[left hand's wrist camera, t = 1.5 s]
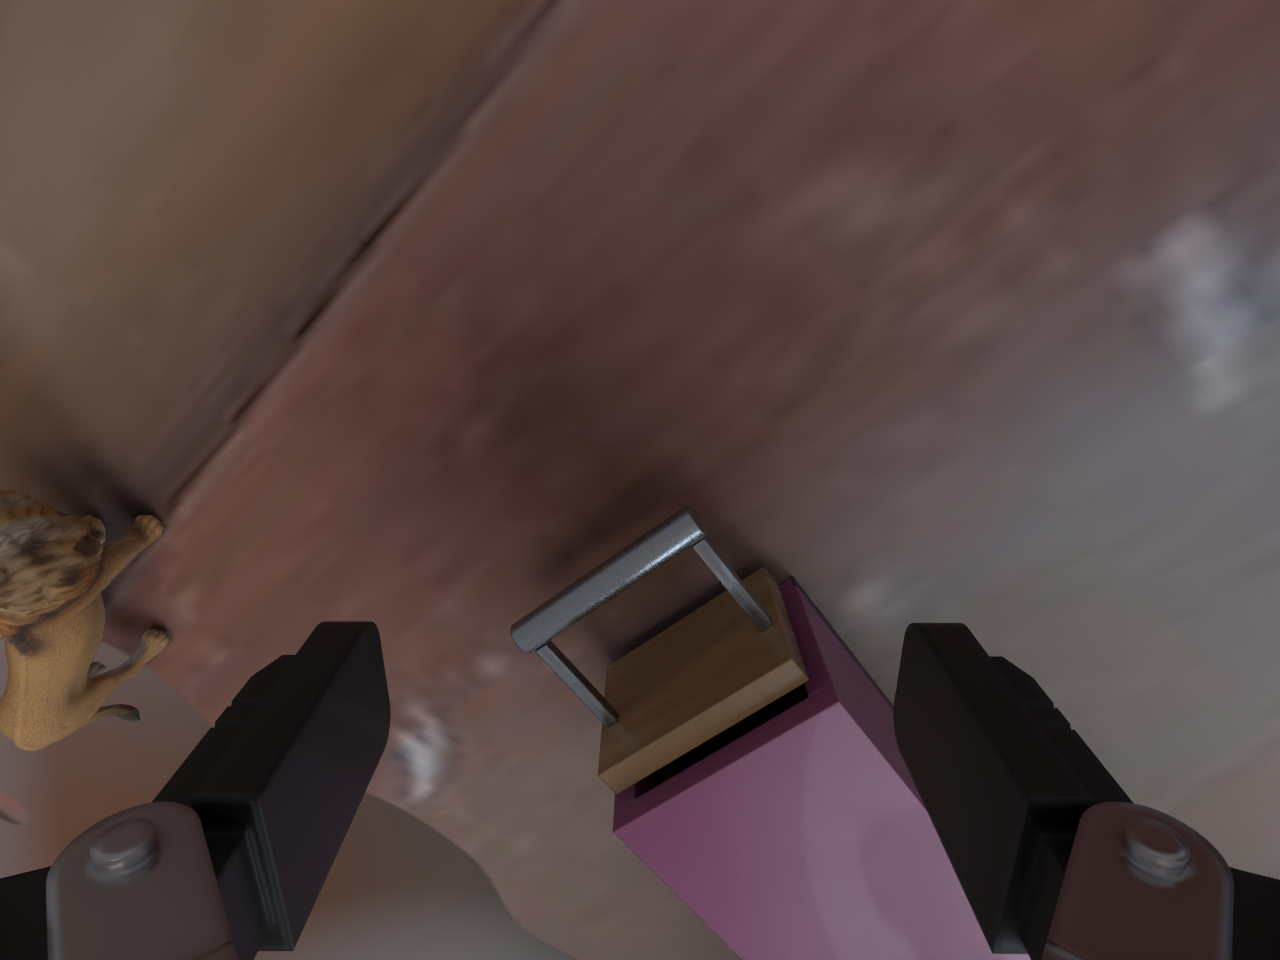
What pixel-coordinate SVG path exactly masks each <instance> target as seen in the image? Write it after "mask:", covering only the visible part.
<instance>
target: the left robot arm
mask: <svg viewBox="0 0 1280 960" xmlns="http://www.w3.org/2000/svg"><path fill="white" fill-rule="evenodd" d="M893 721H894V731H895V737H896V741H897V745H898V748H899V751H900V753H901V756H902V758H903V760H904V762H905V764H906V766H907V769H908V771H909V773H910V775H911V777H912V779H913V782H914V784H915V786H916V788H917V790H918V793H919V795H920V797H921V799H922V801H923V803H924V806H925V808H926V810H927V812H928V814H929V817H930V819H931V821H932V823H933V825H934V827H935V830H936V832H937V834H938V836H939V838H940V840H941V843H942V845H943V847H944V849H945V851H946V854H947V856H948V858H949V860H950V862H951V864H952V867H953V869H954V871H955V873H956V875H957V877H958V880H959V882H960V884H961V886H962V888H963V891H964V893H965V895H966V897H967V899H968V901H969V904H970V906H971V908H972V910H973V912H974V915H975V917H976V919H977V921H978V923H979V925H980V928H981V930H982V932H983V934H984V936H985V938H986V941H987V943H988V945H989V947H990V949H991V952H992V954H1028V955H1029V957H1030V959H1031V960H1280V880H1278V879H1274V878H1270V877H1266V876H1262V875H1258V874H1253V873H1249V872H1245V871H1241V870H1238V869H1234V868H1231V867H1229V866H1228V864H1227V863H1226V861H1225V859H1224V858H1223V857H1222V855H1221V854H1220V853H1219V852H1218V851H1217V849H1216V848H1215V847H1214V846H1213V845H1212V844H1211V843H1210V842H1209V841H1207V840H1206V839H1205V838H1204V837H1203V836H1201V835H1200V834H1199V833H1198V832H1196V831H1195V830H1193V829H1192V828H1190V827H1189V826H1187V825H1186V824H1184V823H1182V822H1181V821H1179V820H1177V819H1175V818H1173V817H1171V816H1169V815H1167V814H1165V813H1162V812H1160V811H1157V810H1155V809H1152V808H1149V807H1146V806H1142V805H1138V804H1134V803H1133V802H1132V801H1131V800H1130V798H1129V797H1128V796H1127V795H1126V793H1125V792H1124V791H1123V790H1122V788H1121V787H1120V786H1119V785H1118V783H1117V782H1116V781H1115V780H1114V778H1113V777H1112V776H1111V775H1110V773H1109V772H1108V771H1107V770H1106V768H1105V767H1104V766H1103V765H1102V763H1101V762H1100V761H1099V760H1098V758H1097V757H1096V756H1095V755H1094V753H1093V752H1092V751H1091V750H1090V748H1089V747H1088V746H1087V745H1086V743H1085V742H1084V741H1083V740H1082V738H1081V737H1080V736H1079V735H1078V733H1077V732H1076V731H1075V730H1071V728H1070V723H1069V722H1068V721H1067V720H1066V718H1065V717H1064V716H1063V715H1062V713H1061V712H1060V711H1059V710H1058V708H1054V706H1053V702H1052V701H1051V700H1050V698H1049V697H1048V696H1047V695H1046V693H1045V692H1044V691H1043V690H1042V688H1041V687H1040V686H1039V685H1038V683H1037V682H1036V681H1035V680H1034V678H1032V677H1031V676H1030V675H1028V674H1027V673H1025V672H1024V671H1022V670H1021V669H1019V668H1018V667H1016V666H1015V665H1014V664H1012V663H1011V662H1009V661H1008V660H1006V659H1005V658H1003V657H989V656H988V654H987V653H986V652H985V650H984V649H983V648H982V646H981V645H980V643H979V642H978V641H977V639H976V638H975V637H974V635H973V634H972V633H971V631H970V630H969V629H968V627H967V626H966V625H964V624H962V623H911V624H910V625H909V626H908V627H907V629H906V632H905V636H904V642H903V649H902V655H901V662H900V669H899V675H898V682H897V689H896V695H895V702H894V711H893ZM389 728H390V702H389V695H388V688H387V681H386V675H385V668H384V661H383V654H382V648H381V641H380V635H379V631H378V628H377V626H376V624H375V623H374V622H321V623H320V624H318V625H317V627H316V628H315V629H314V631H313V632H312V633H311V635H310V636H309V637H308V639H307V640H306V641H305V643H304V644H303V646H302V647H301V648H300V650H299V651H298V652H297V654H296V655H282V656H280V657H279V658H278V659H276V660H275V661H273V662H272V663H270V664H269V665H267V666H266V667H265V668H263V669H262V670H260V671H259V672H257V673H256V674H254V675H253V676H251V678H250V679H249V680H248V682H247V683H246V684H245V685H244V687H243V688H242V689H241V690H240V692H239V693H238V694H237V695H236V697H235V698H234V699H233V700H232V705H231V707H227V708H226V709H225V711H224V712H223V713H222V714H221V716H220V717H219V718H218V719H217V721H216V722H215V727H214V728H210V729H209V731H208V732H207V733H206V735H205V736H204V737H203V738H202V740H201V741H200V742H199V743H198V745H197V746H196V747H195V748H194V750H193V751H192V752H191V754H190V755H189V756H188V757H187V759H186V760H185V761H184V762H183V764H182V765H181V766H180V767H179V769H178V770H177V771H176V772H175V774H174V775H173V776H172V778H171V779H170V780H169V781H168V783H167V784H166V785H165V786H164V788H163V789H162V790H161V791H160V793H159V794H158V795H157V796H156V798H155V799H154V800H153V801H152V803H147V804H143V805H138V806H135V807H131V808H128V809H126V810H123V811H120V812H118V813H116V814H113V815H111V816H109V817H107V818H105V819H103V820H101V821H99V822H98V823H96V824H94V825H93V826H91V827H90V828H88V829H87V830H85V831H84V832H82V833H81V834H80V835H79V836H77V837H76V838H75V839H74V840H73V841H71V842H70V844H68V845H67V846H66V847H65V848H64V849H63V851H62V852H61V853H60V854H59V856H58V857H57V858H56V860H55V861H54V863H53V864H52V866H50V867H46V868H42V869H38V870H34V871H30V872H25V873H21V874H17V875H13V876H9V877H5V878H1V879H0V960H254V958H255V956H256V954H257V952H258V951H293V950H294V948H295V945H296V943H297V941H298V939H299V937H300V935H301V932H302V930H303V928H304V926H305V923H306V921H307V919H308V917H309V915H310V912H311V910H312V908H313V906H314V904H315V901H316V899H317V897H318V895H319V893H320V890H321V888H322V886H323V884H324V882H325V879H326V877H327V875H328V873H329V871H330V868H331V866H332V864H333V862H334V860H335V857H336V855H337V853H338V851H339V848H340V846H341V844H342V842H343V840H344V837H345V835H346V833H347V831H348V829H349V826H350V824H351V822H352V820H353V818H354V815H355V813H356V811H357V809H358V806H359V804H360V802H361V800H362V798H363V796H364V793H365V791H366V789H367V787H368V785H369V782H370V780H371V778H372V776H373V774H374V771H375V769H376V767H377V765H378V763H379V760H380V758H381V756H382V754H383V751H384V749H385V746H386V743H387V739H388V735H389Z"/></svg>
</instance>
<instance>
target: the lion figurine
mask: <svg viewBox="0 0 1280 960" xmlns="http://www.w3.org/2000/svg"><path fill="white" fill-rule="evenodd" d="M162 532H163V525H162V524H161V522H160V521H159V520H158V519H157V518H155V517H154V516H152V515H139V516H137V517H136V519H135V522H134V525H133V526H132V527H130V528H129V529H128V531H127V532H126V534H125V535H124V537H123V538H122V539H121V540H119V541H116V542H114V543H112V544H110V545H108V546H106V547H105V548H103V546H102V544H103V542H104V541H105V536H106V534H105V527H104V524H103V523H102V521H101V520H100V519H98V518H96V517H93V516H91V515H89V516H85V517H83V518H82V517H80V516H79V515H69V514H63V513H61V512H59V511H55V510H54V509H53V508H52V507H50V506H49V505H47V504H46V503H43V502H40V501H38V500H35V499H31V498H30V497H29V496H28V494H26V493H19V492H15V491H13V490H0V639H1V640H3V641H5V652H6V657H7V662H8V682H7V686H6V689H5V692H4V694H3V696H2V698H1V700H0V731H1V732H2V734H4V735H5V736H6V737H7V738H9V739H11V740H12V741H13V742H14V744H15V745H16V746H17V747H18V748H20V749H23V750H30V751H34V750H39V749H42V748H44V747H46V746H48V745H51V744H53V743H54V742H56V741H58V740H61V739H63V738H65V737H66V736H68V735H69V734H71V733H72V732H74V731H75V730H77V729H78V728H80V727H82V726H84V725H85V724H87V723H89V722H91V721H93V720H96V719H98V718H102V717H108V716H117V717H119V718H122V719H125V720H129V721H133V722H139V721H140V716H139V710H138V709H137V708H136V707H133V706H130V705H123V704H117V705H110V706H105V707H101V706H102V705H103V703H104V702H105V701H106V700H107V699H108V697H109V696H110V694H112V693H113V692H114V691H115V690H116V689H117V688H118V687H119V686H120V684H122V683H123V682H124V681H126V680H128V679H130V678H132V677H134V676H135V675H136V674H137V673H138V672H139V671H140V670H141V669H142V667H143V666H144V665H145V664H146V663H147V662H148V661H149V660H151V659H152V658H153V657H154V656H156V655H157V654H158V653H160V652H161V651H162V650H163V649H164V648H165V647H166V646H167V645H168V642H169V638H168V636H167V634H166V633H165V632H164V631H161V630H156V629H149V630H147V631H146V632H145V633H144V634H143V635H142V637H141V641H140V645H139V647H138V649H137V651H136V652H135V653H134V654H133V656H132V657H131V658H130V659H129V660H127V661H126V662H125V663H123V664H122V665H121V666H119V667H118V668H116V669H114V670H110V671H107V668H106V667H105V666H104V665H103V664H101V663H99V662H92V660H93V658H94V656H95V654H96V651H97V649H98V647H99V645H100V642H101V640H102V637H103V631H104V625H105V609H104V604H103V599H102V595H101V591H102V590H103V589H105V588H106V587H107V586H108V584H109V583H110V582H111V581H112V580H113V579H114V578H115V576H116V575H117V574H118V573H119V572H120V571H121V570H122V569H123V568H124V567H125V566H126V565H127V564H128V563H129V562H130V561H131V560H132V559H133V558H134V557H135V556H137V555H138V554H139V553H140V552H141V551H143V550H144V549H145V548H146V547H148V546H149V545H150V544H151V543H152V542H154V541H155V540H156V539H157V538H158V537H159V536H160V535H161V534H162ZM91 662H92V663H91Z"/></svg>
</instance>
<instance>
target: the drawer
mask: <svg viewBox="0 0 1280 960" xmlns="http://www.w3.org/2000/svg"><path fill="white" fill-rule="evenodd" d="M706 535H707V530H706V527H705V525H704V523H703V522H702V520H701V518H700V517H699V516H698V514H697V513H696V512H695V511H694V510H693V509H692V508H691V507H690V506H685V507H684V508H682V509H681V510H679V511H678V512H676V513H675V514H673V515H672V516H671V517H669V518H668V519H666V520H665V521H663V522H662V523H660V524H659V525H657V526H656V527H654V528H653V529H652V530H650V531H649V532H647V533H646V534H644V535H643V536H641V537H640V538H638V539H637V540H635V541H634V542H633V543H631V544H630V545H628V546H627V547H625V548H624V549H622V550H621V551H619V552H618V553H616V554H615V555H614V556H612V557H611V558H609V559H608V560H606V561H605V562H603V563H602V564H600V565H599V566H597V567H596V568H595V569H593V570H592V571H590V572H589V573H587V574H586V575H584V576H583V577H581V578H580V579H578V580H577V581H576V582H574V583H573V584H571V585H570V586H568V587H567V588H565V589H564V590H562V591H561V592H559V593H558V594H557V595H555V596H554V597H552V598H551V599H549V600H548V601H546V602H545V603H543V604H542V605H540V606H539V607H538V608H536V609H535V610H533V611H532V612H530V613H529V614H527V615H526V616H524V617H523V618H521V619H520V620H519V621H517V622H516V623H514V624H513V625H512V626H511V636H512V638H513V641H514V642H515V644H516V645H517V647H518V648H519V649H520V650H521V651H523V652H525V653H531V652H533V651H534V650H536V653H537V654H538V655H539V656H540V657H541V658H542V659H543V661H544V662H545V663H546V664H547V665H548V666H549V667H550V668H551V669H552V670H553V671H554V672H555V673H556V674H557V675H558V676H559V677H560V678H561V679H562V681H563V682H564V683H565V684H566V685H567V686H568V687H569V688H570V689H571V690H572V691H573V692H574V693H575V694H576V695H577V696H578V697H579V698H580V699H581V701H582V702H583V703H584V704H585V705H586V706H587V707H588V708H589V709H590V710H591V711H592V712H593V713H594V714H595V715H596V716H597V717H598V718H599V719H600V721H601V722H602V732H601V744H600V756H599V768H598V776H599V777H600V778H601V780H602V781H603V782H604V783H605V784H606V785H607V786H608V787H609V788H610V789H611V790H612V791H613V792H614V793H615V794H618V793H620V792H621V791H623V790H625V789H626V788H628V787H630V786H631V785H633V784H635V783H636V782H638V781H640V780H641V779H643V778H645V777H647V776H648V775H650V774H652V773H653V772H655V771H657V770H658V769H660V784H662V783H663V782H665V781H667V780H668V779H670V778H672V777H673V776H675V775H677V774H679V773H680V772H682V771H684V770H685V769H687V768H689V767H690V766H692V765H694V764H696V763H697V762H699V761H701V760H702V759H704V758H706V757H708V756H709V755H711V754H713V753H714V752H716V751H718V750H719V749H721V748H723V747H725V746H726V745H728V744H730V743H731V742H733V741H735V740H737V739H738V738H740V737H742V736H743V735H745V734H747V733H748V732H750V731H752V730H754V729H755V728H757V727H759V726H760V725H762V724H764V723H765V722H767V721H769V720H771V719H772V718H774V717H776V716H777V715H779V714H781V713H783V712H784V711H786V710H788V709H789V708H791V707H793V706H794V705H796V704H798V703H800V702H801V701H803V700H805V699H806V698H808V694H807V691H806V688H805V684H804V683H805V682H807V681H808V680H809V678H808V675H807V672H806V669H805V666H804V663H803V660H802V657H801V653H800V650H799V647H798V644H797V641H796V638H795V635H794V632H793V629H792V626H791V623H790V620H789V617H788V614H787V611H786V608H785V605H784V602H783V599H782V596H781V593H780V590H779V587H778V584H777V583H776V582H775V580H774V579H773V578H772V576H771V575H770V574H769V573H768V571H767V570H766V569H765V568H764V567H762V568H760V569H759V570H757V571H756V572H754V573H753V574H751V575H750V576H748V577H746V578H745V579H743V580H741V579H740V578H739V577H738V575H737V574H736V573H735V572H734V570H733V569H732V568H731V567H730V565H729V564H728V563H727V562H726V560H725V559H724V558H723V557H722V555H721V554H720V553H719V552H718V550H717V549H716V548H715V547H714V545H713V544H712V543H711V542H710V540H709V539H708V538H707V537H706ZM690 546H692V548H693V549H694V551H695V552H696V553H697V554H698V556H699V557H700V558H701V559H702V561H703V562H704V563H705V564H706V565H707V567H708V568H709V569H710V570H711V572H712V573H713V574H714V575H715V576H716V578H717V579H718V580H719V581H720V583H721V584H722V585H723V586H724V587H725V589H726V591H725V592H723V593H722V594H720V595H718V596H717V597H715V598H714V599H712V600H711V601H709V602H708V603H706V604H704V605H703V606H701V607H700V608H698V609H697V610H695V611H694V612H692V613H691V614H689V615H687V616H686V617H684V618H683V619H681V620H680V621H678V622H677V623H675V624H673V625H672V626H670V627H669V628H667V629H666V630H664V631H663V632H661V633H659V634H658V635H656V636H655V637H653V638H652V639H650V640H649V641H647V642H645V643H644V644H642V645H641V646H639V647H638V648H636V649H635V650H633V651H631V652H630V653H628V654H627V655H625V656H624V657H622V658H621V659H619V660H617V661H616V662H614V663H613V664H611V665H610V666H608V667H607V673H606V685H605V697H603V696H602V695H601V694H600V693H599V692H598V690H597V689H596V688H595V687H594V686H593V685H592V684H591V683H590V682H589V681H588V680H587V679H586V678H585V677H584V676H583V674H582V673H581V672H580V671H579V670H578V669H577V668H576V667H575V666H574V665H573V664H572V663H571V662H570V661H569V659H568V658H567V657H566V656H565V655H564V654H563V653H562V652H561V651H560V650H559V649H558V648H557V647H556V646H555V645H554V643H553V642H552V641H551V639H552V638H554V637H555V636H557V635H558V634H560V633H561V632H563V631H564V630H566V629H567V628H569V627H570V626H572V625H573V624H575V623H576V622H578V621H579V620H581V619H582V618H584V617H585V616H587V615H588V614H590V613H591V612H593V611H594V610H596V609H597V608H599V607H600V606H602V605H603V604H605V603H606V602H608V601H609V600H611V599H612V598H614V597H615V596H617V595H618V594H620V593H621V592H623V591H624V590H626V589H627V588H629V587H630V586H632V585H633V584H635V583H636V582H638V581H639V580H641V579H642V578H644V577H645V576H647V575H648V574H650V573H651V572H653V571H654V570H656V569H657V568H659V567H660V566H662V565H663V564H665V563H666V562H668V561H669V560H671V559H672V558H674V557H675V556H677V555H678V554H680V553H681V552H683V551H684V550H686V549H687V548H689V547H690Z"/></svg>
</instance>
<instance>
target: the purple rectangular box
mask: <svg viewBox="0 0 1280 960" xmlns="http://www.w3.org/2000/svg"><path fill="white" fill-rule="evenodd" d="M778 587H779V590H780V593H781V596H782V599H783V602H784V605H785V608H786V611H787V614H788V617H789V620H790V623H791V626H792V629H793V632H794V635H795V638H796V641H797V644H798V647H799V650H800V653H801V657H802V660H803V663H804V666H805V669H806V672H807V675H808V678H809V680H808V681H807V682H805V683H804V684H805V688H806V691H807V694H808V698H806V699H805V700H803V701H801V702H800V703H798V704H796V705H794V706H793V707H791V708H789V709H788V710H786V711H784V712H783V713H781V714H779V715H777V716H776V717H774V718H772V719H771V720H769V721H767V722H765V723H764V724H762V725H760V726H759V727H757V728H755V729H754V730H752V731H750V732H748V733H747V734H745V735H743V736H742V737H740V738H738V739H737V740H735V741H733V742H731V743H730V744H728V745H726V746H725V747H723V748H721V749H719V750H718V751H716V752H714V753H713V754H711V755H709V756H708V757H706V758H704V759H702V760H701V761H699V762H697V763H696V764H694V765H692V766H690V767H689V768H687V769H685V770H684V771H682V772H680V773H679V774H677V775H675V776H673V777H672V778H670V779H668V780H667V781H665V782H663V783H662V784H660V769H658V770H657V771H655V772H653V773H652V774H650V775H648V776H647V777H645V778H643V779H641V780H640V781H638V782H636V783H635V784H633V785H631V786H630V787H628V788H626V789H625V790H623V791H621V792H620V793H618V794H615V804H614V822H613V833H614V834H615V835H616V836H617V837H618V838H619V839H620V840H621V841H622V842H623V843H624V844H625V845H626V846H627V847H628V848H629V849H630V850H631V851H632V852H633V853H634V854H635V855H636V856H638V857H639V858H640V859H641V860H642V861H643V862H644V863H645V864H646V865H647V866H648V867H649V868H650V869H651V870H652V871H653V872H654V873H655V874H656V875H657V876H658V877H659V878H660V879H661V880H662V881H663V882H664V883H665V884H666V885H667V886H668V887H669V888H670V889H671V890H672V891H673V892H674V893H675V894H676V895H677V896H678V897H679V898H680V899H681V900H682V901H683V902H684V903H685V904H686V905H687V906H688V907H689V908H690V909H691V910H692V911H693V912H694V913H695V914H696V915H697V916H698V917H699V918H700V919H701V920H702V921H703V922H704V923H705V924H706V925H707V926H708V927H709V928H710V929H711V930H712V931H713V932H714V933H715V934H716V935H717V936H718V937H719V938H720V939H721V940H722V941H723V942H724V943H725V944H726V945H727V946H728V947H729V948H730V949H731V950H732V951H733V952H734V953H735V954H736V955H737V956H738V957H739V958H740V959H741V960H1031V959H1030V957H1029V955H1028V954H992V952H991V949H990V947H989V945H988V943H987V941H986V938H985V936H984V934H983V932H982V930H981V928H980V925H979V923H978V921H977V919H976V917H975V915H974V912H973V910H972V908H971V906H970V904H969V901H968V899H967V897H966V895H965V893H964V891H963V888H962V886H961V884H960V882H959V880H958V877H957V875H956V873H955V871H954V869H953V867H952V864H951V862H950V860H949V858H948V856H947V854H946V851H945V849H944V847H943V845H942V843H941V840H940V838H939V836H938V834H937V832H936V830H935V827H934V825H933V823H932V821H931V819H930V817H929V814H928V812H927V810H926V808H925V806H924V803H923V801H922V799H921V797H920V795H919V793H918V790H917V788H916V786H915V784H914V782H913V779H912V777H911V775H910V773H909V771H908V769H907V766H906V764H905V762H904V760H903V758H902V756H901V753H900V751H899V748H898V745H897V741H896V737H895V731H894V721H893V711H894V706H893V705H892V704H891V702H890V701H889V700H888V699H887V697H886V696H885V695H884V693H883V692H882V691H881V690H880V688H879V687H878V686H877V684H876V683H875V682H874V680H873V679H872V678H871V677H870V675H869V674H868V673H867V671H866V670H865V669H864V668H863V666H862V665H861V664H860V662H859V661H858V660H857V659H856V657H855V656H854V655H853V653H852V652H851V651H850V649H849V648H848V647H847V646H846V644H845V643H844V642H843V640H842V639H841V638H840V637H839V635H838V634H837V633H836V631H835V630H834V629H833V628H832V626H831V625H830V624H829V622H828V621H827V620H826V619H825V617H824V616H823V615H822V613H821V612H820V611H819V609H818V608H817V607H816V606H815V604H814V603H813V602H812V600H811V599H810V598H809V597H808V595H807V594H806V593H805V591H804V590H803V589H802V588H801V586H800V585H799V584H798V582H797V581H796V580H795V578H794V577H793V576H791V578H790V579H788V580H787V581H785V582H784V583H782V584H781V585H779V586H778Z"/></svg>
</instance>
